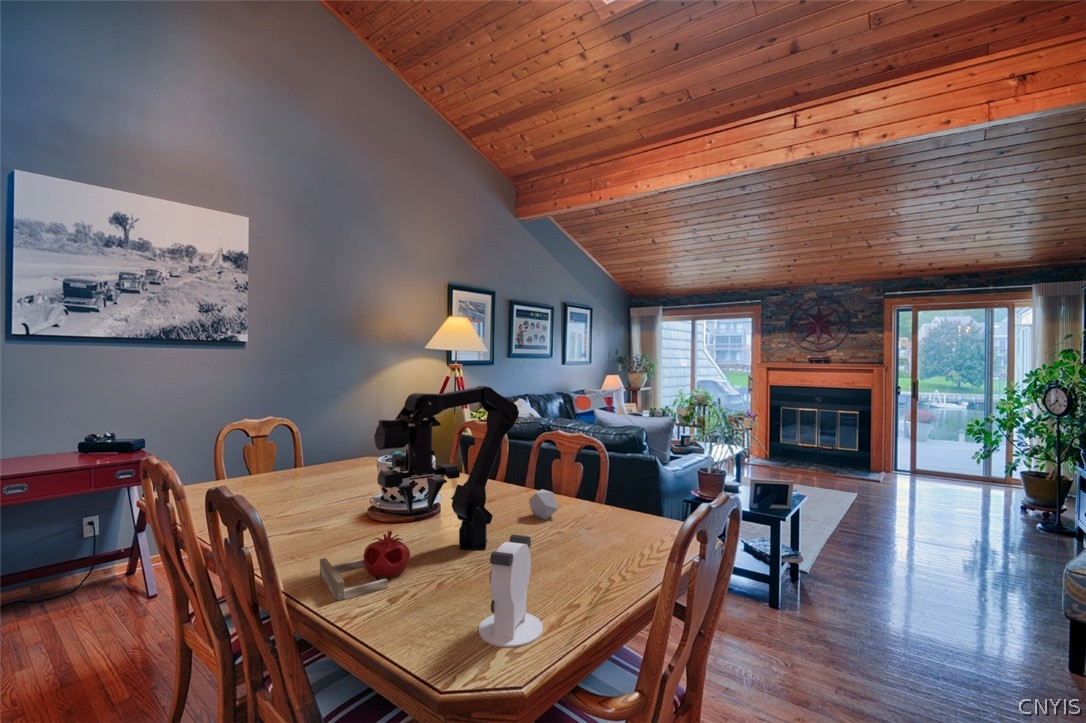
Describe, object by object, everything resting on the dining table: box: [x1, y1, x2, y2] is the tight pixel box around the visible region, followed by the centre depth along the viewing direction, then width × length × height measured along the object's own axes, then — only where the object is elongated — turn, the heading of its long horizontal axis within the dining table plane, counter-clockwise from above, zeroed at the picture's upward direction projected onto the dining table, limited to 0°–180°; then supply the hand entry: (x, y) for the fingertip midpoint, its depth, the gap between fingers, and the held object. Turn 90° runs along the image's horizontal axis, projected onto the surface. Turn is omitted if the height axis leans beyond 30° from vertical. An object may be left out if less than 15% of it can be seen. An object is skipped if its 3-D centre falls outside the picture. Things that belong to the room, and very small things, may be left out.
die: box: [528, 489, 559, 521], centre depth 153 cm, size 8×9×10 cm
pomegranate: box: [362, 530, 411, 579], centre depth 111 cm, size 10×10×9 cm
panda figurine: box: [478, 534, 544, 648], centre depth 88 cm, size 12×11×15 cm
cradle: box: [319, 557, 389, 602], centre depth 106 cm, size 10×15×4 cm, turn 37°
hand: (419, 510), depth 118 cm, fingers open, 5 cm apart
